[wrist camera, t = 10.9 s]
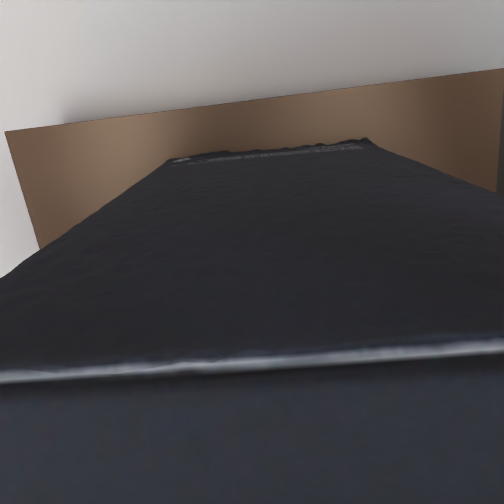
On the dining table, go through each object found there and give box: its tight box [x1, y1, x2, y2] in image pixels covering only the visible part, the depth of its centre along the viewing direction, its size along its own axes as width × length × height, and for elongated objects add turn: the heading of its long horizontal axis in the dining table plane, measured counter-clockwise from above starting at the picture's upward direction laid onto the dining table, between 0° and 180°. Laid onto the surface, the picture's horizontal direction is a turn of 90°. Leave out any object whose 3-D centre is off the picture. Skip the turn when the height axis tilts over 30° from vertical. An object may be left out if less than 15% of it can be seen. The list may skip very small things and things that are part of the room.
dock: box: [4, 68, 504, 249], centre depth 16 cm, size 15×13×4 cm
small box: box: [0, 137, 504, 504], centre depth 9 cm, size 11×6×10 cm, turn 5°
